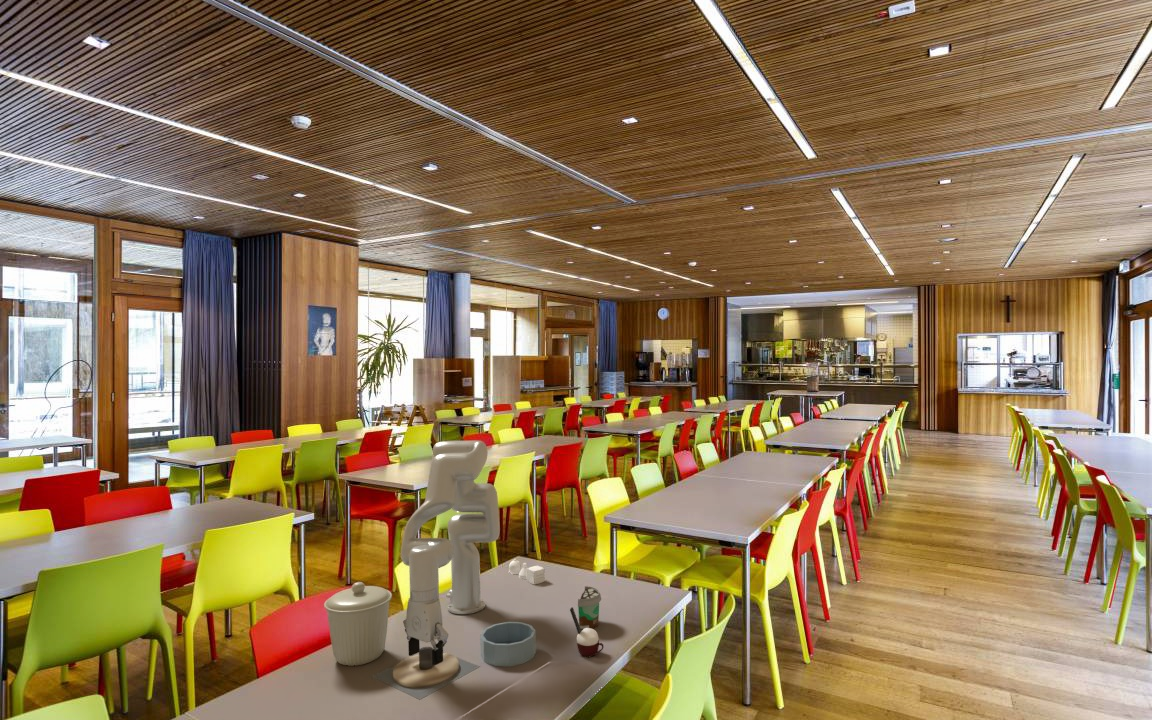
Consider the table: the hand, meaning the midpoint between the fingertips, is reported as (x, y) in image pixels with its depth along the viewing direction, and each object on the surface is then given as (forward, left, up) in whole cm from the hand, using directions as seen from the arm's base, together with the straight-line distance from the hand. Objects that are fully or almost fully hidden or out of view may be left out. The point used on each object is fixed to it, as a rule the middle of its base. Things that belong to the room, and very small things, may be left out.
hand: (425, 658), depth 161 cm
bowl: (+11, +20, -4) cm, 23 cm away
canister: (-23, -5, -4) cm, 24 cm away
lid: (0, 0, -4) cm, 4 cm away
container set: (-29, +71, -4) cm, 77 cm away
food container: (+19, +49, -4) cm, 53 cm away
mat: (0, 0, -4) cm, 4 cm away
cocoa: (+29, +33, -4) cm, 44 cm away
